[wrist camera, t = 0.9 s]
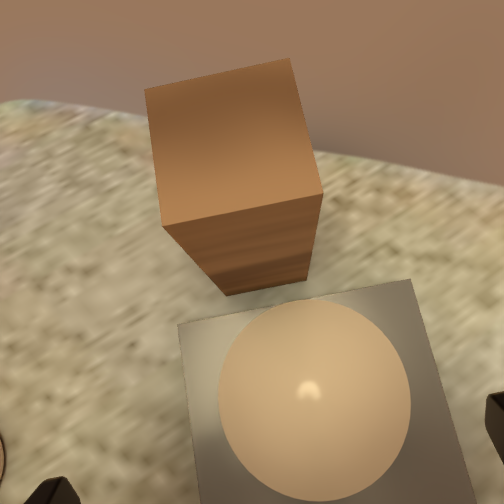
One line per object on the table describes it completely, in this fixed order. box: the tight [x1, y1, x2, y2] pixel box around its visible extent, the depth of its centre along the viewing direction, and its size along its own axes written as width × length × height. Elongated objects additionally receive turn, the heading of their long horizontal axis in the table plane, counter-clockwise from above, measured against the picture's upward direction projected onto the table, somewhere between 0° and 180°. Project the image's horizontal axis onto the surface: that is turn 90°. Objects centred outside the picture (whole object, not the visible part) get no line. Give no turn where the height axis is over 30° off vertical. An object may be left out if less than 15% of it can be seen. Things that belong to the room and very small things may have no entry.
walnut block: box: [144, 58, 323, 296], centre depth 18 cm, size 4×4×12 cm
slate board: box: [177, 279, 477, 504], centre depth 20 cm, size 14×12×2 cm
